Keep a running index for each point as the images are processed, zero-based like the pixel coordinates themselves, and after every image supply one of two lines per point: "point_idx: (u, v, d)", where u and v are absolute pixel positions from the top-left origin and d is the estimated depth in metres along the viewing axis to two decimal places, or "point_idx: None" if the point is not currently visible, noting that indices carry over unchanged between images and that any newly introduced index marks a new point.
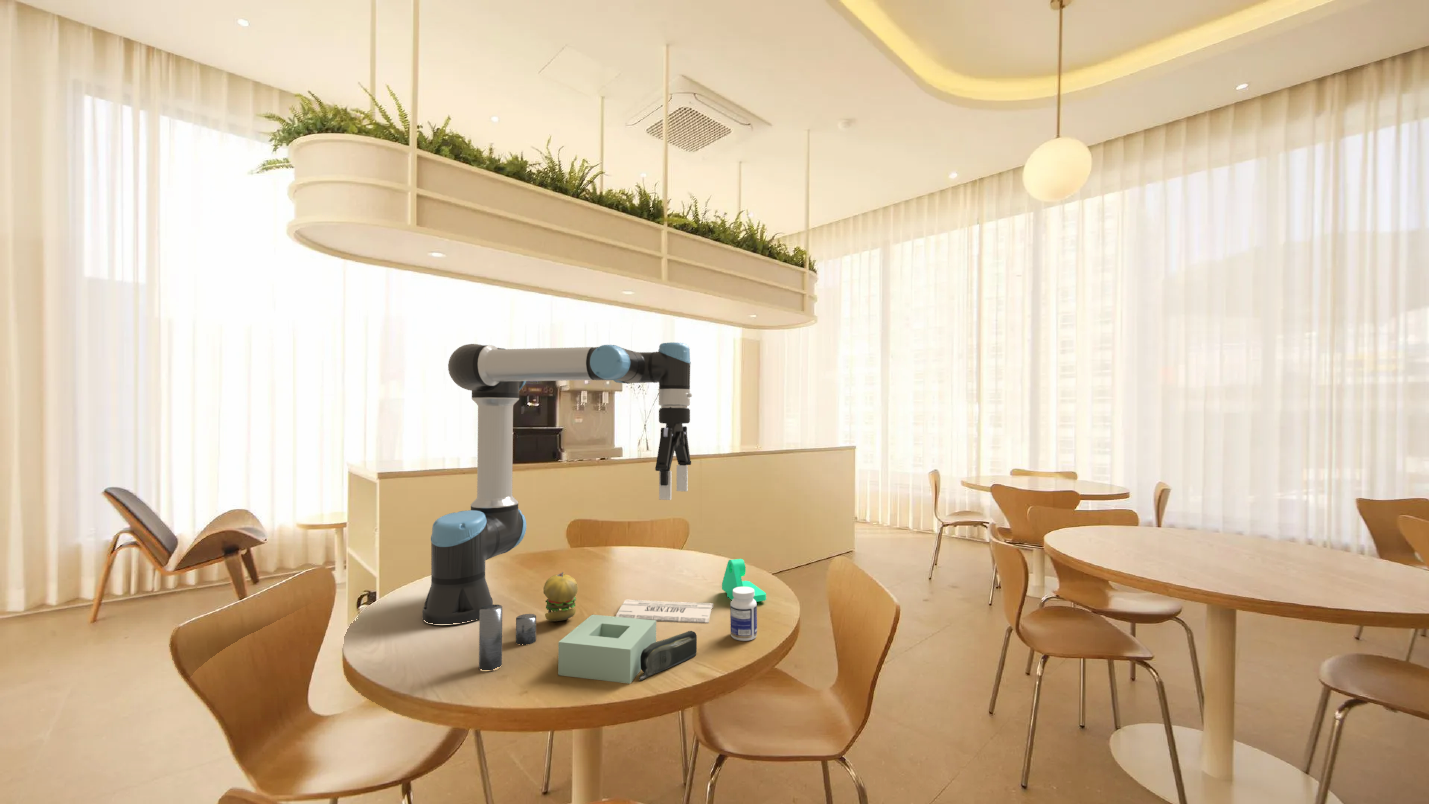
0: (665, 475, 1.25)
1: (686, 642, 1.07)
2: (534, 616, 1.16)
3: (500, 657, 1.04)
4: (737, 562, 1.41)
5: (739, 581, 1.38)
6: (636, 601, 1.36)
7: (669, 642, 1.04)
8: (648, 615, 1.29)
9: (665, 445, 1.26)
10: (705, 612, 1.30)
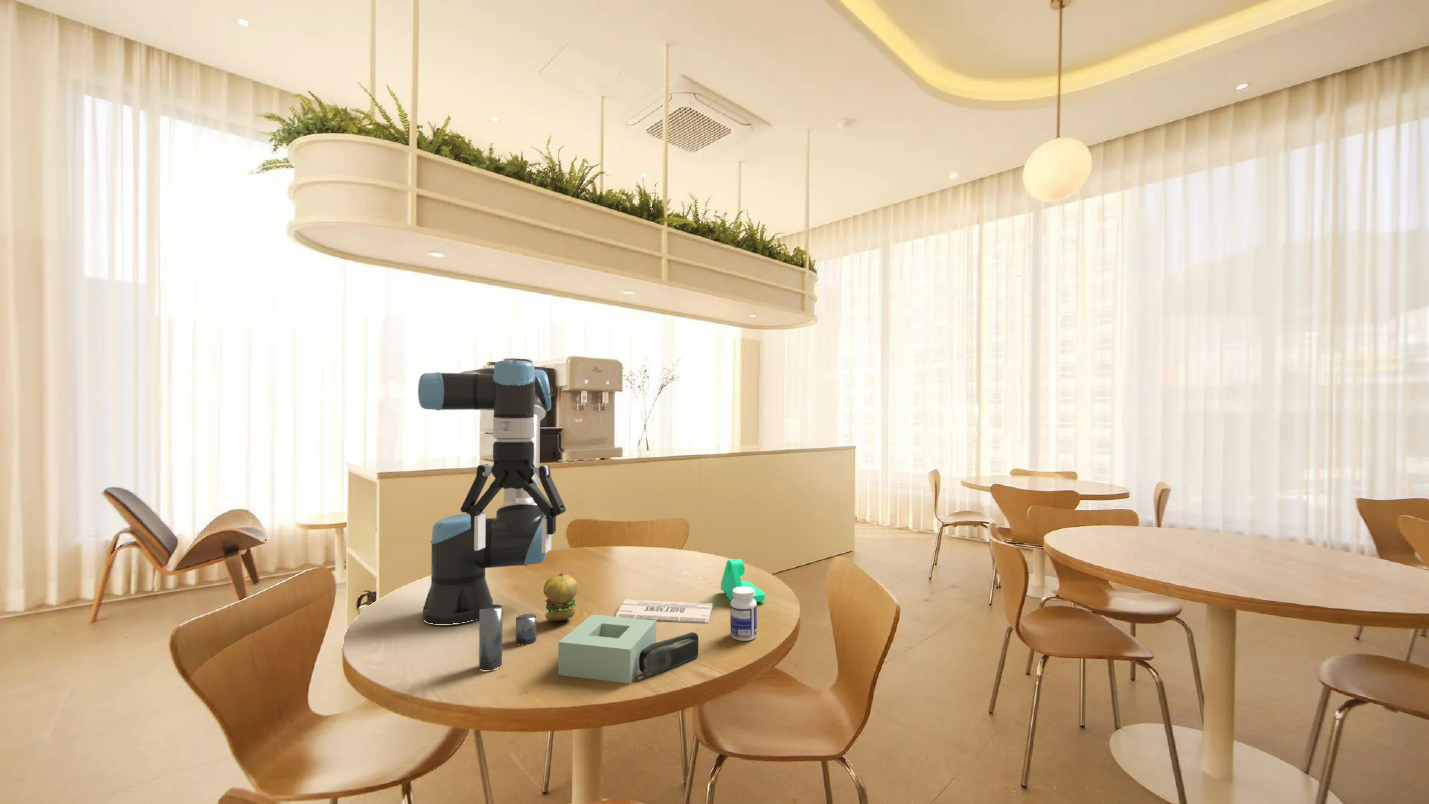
0: None
1: (687, 644, 1.06)
2: (534, 616, 1.16)
3: (500, 657, 1.04)
4: (736, 562, 1.41)
5: (738, 581, 1.38)
6: (636, 601, 1.36)
7: (668, 643, 1.04)
8: (648, 614, 1.29)
9: None
10: (705, 612, 1.30)
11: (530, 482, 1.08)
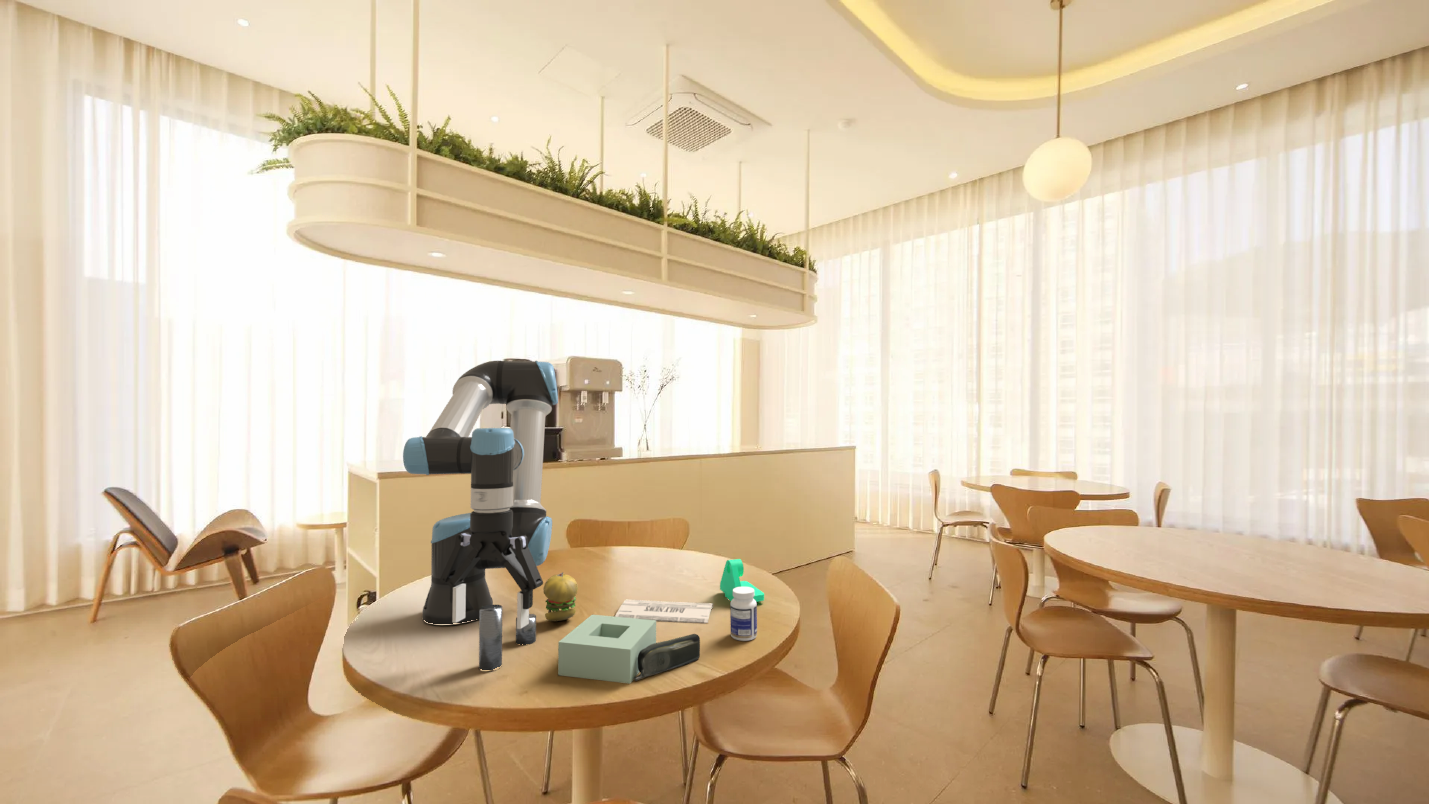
0: None
1: (688, 645, 1.05)
2: (534, 616, 1.16)
3: (500, 657, 1.04)
4: (735, 562, 1.41)
5: (737, 581, 1.38)
6: (636, 601, 1.36)
7: (668, 644, 1.03)
8: (647, 615, 1.29)
9: None
10: (704, 612, 1.30)
11: (508, 552, 1.05)
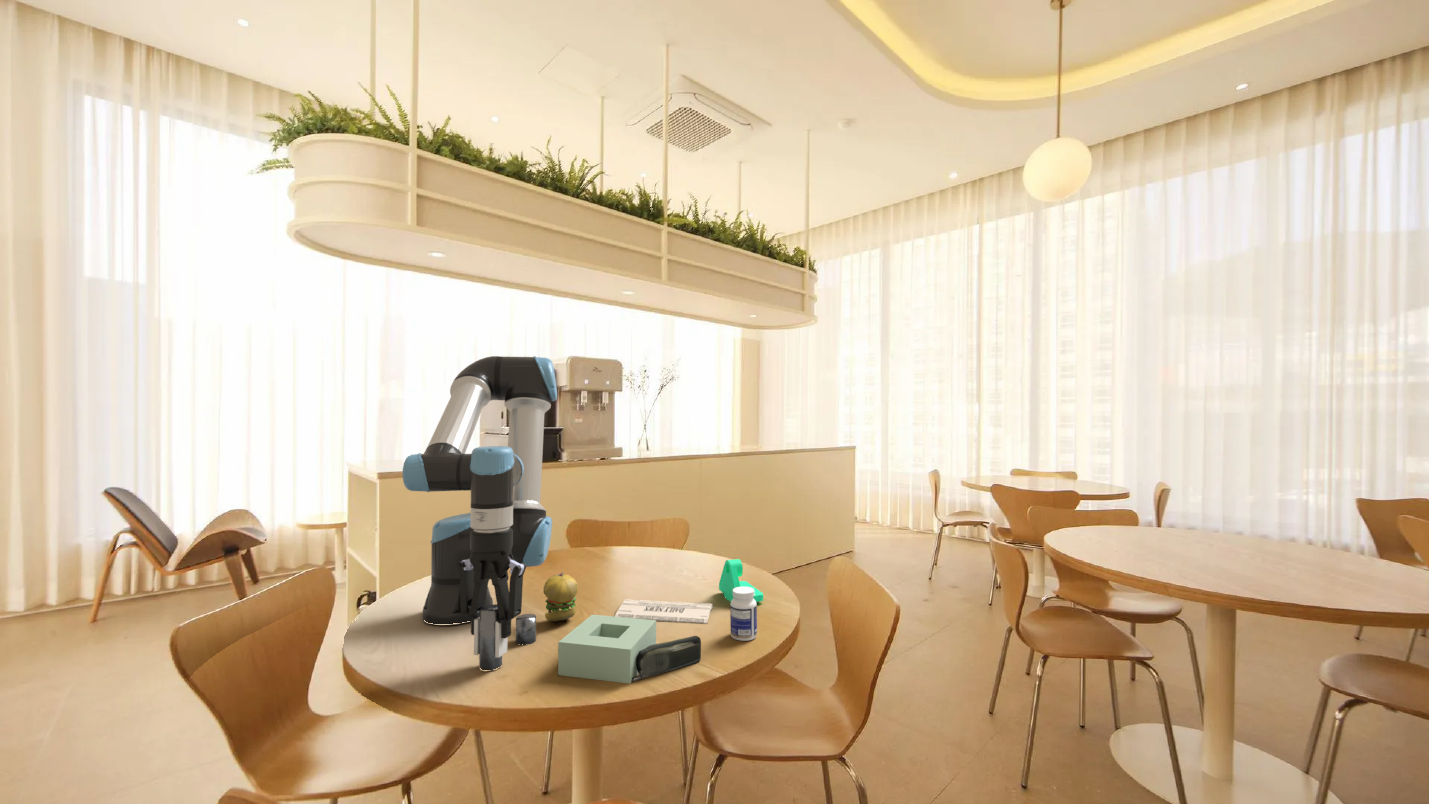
0: None
1: (688, 647, 1.05)
2: (534, 616, 1.16)
3: (500, 657, 1.04)
4: (734, 562, 1.41)
5: (736, 581, 1.38)
6: (636, 601, 1.36)
7: (667, 645, 1.03)
8: (647, 614, 1.29)
9: None
10: (704, 612, 1.30)
11: None
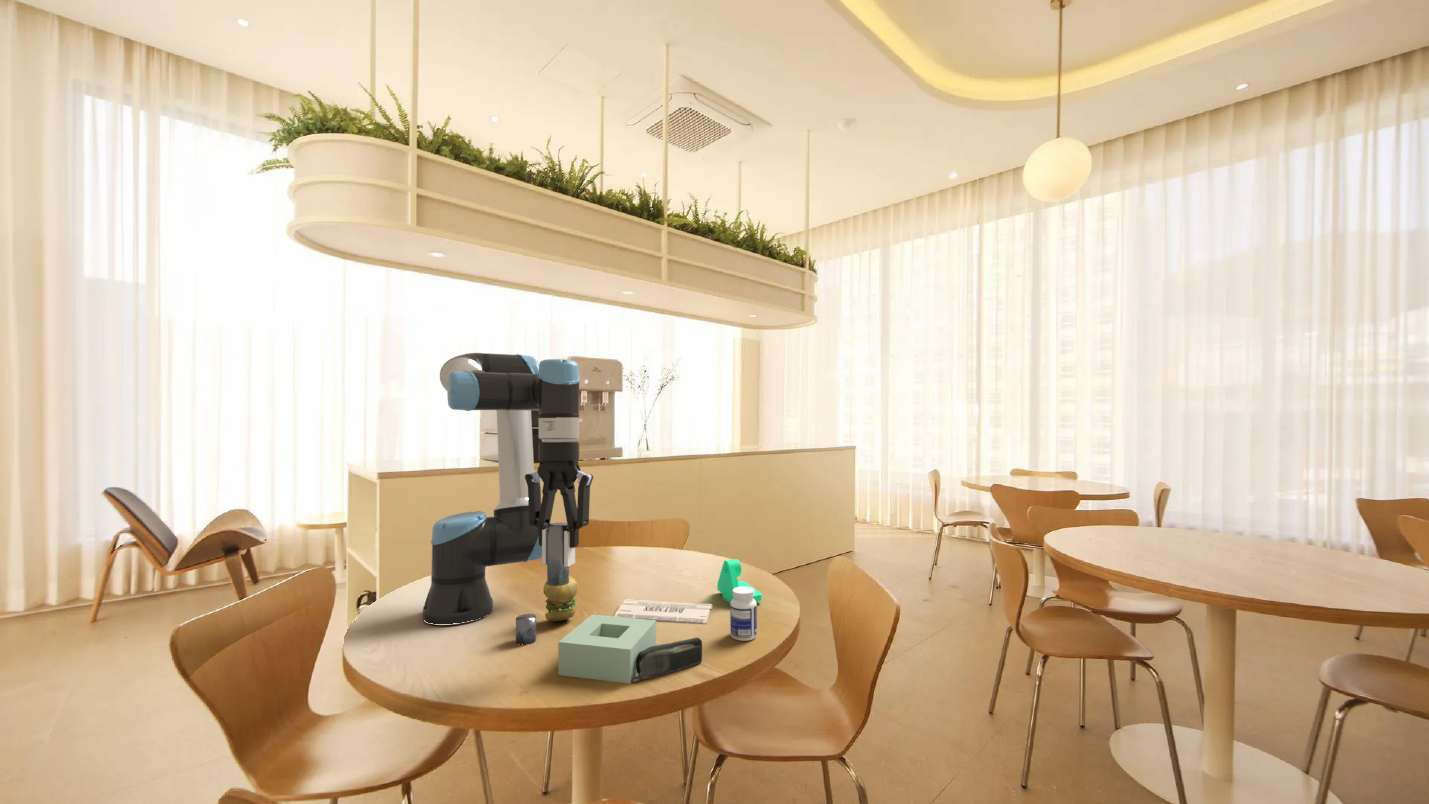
0: None
1: (688, 649, 1.04)
2: (534, 616, 1.16)
3: (568, 573, 1.04)
4: (733, 563, 1.41)
5: (735, 581, 1.38)
6: (636, 601, 1.36)
7: (668, 647, 1.02)
8: (646, 614, 1.29)
9: None
10: (703, 612, 1.30)
11: None
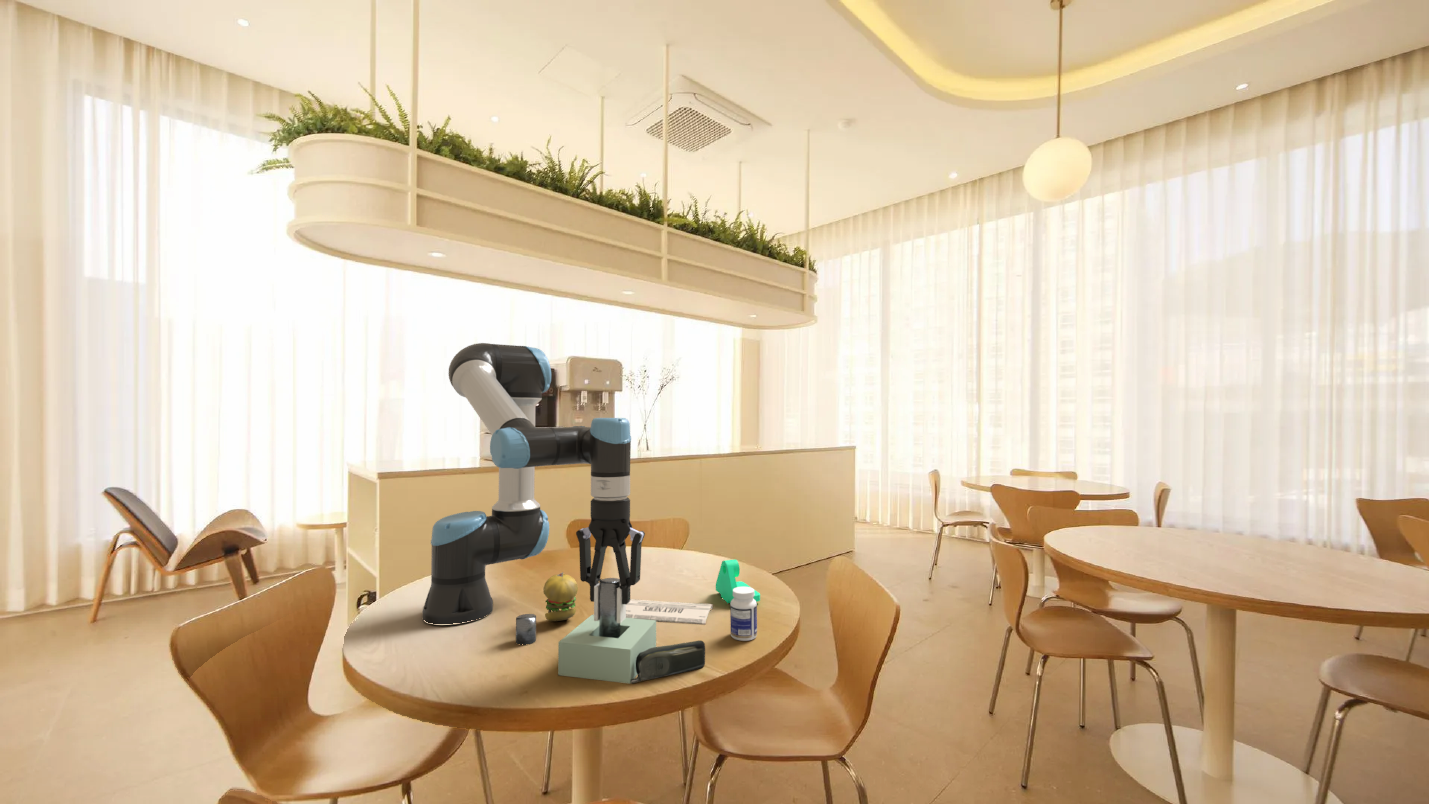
0: None
1: (690, 652, 1.03)
2: (534, 616, 1.16)
3: (619, 629, 1.06)
4: (731, 563, 1.40)
5: (733, 582, 1.38)
6: (636, 601, 1.36)
7: (668, 649, 1.01)
8: (646, 614, 1.29)
9: None
10: (703, 613, 1.29)
11: None
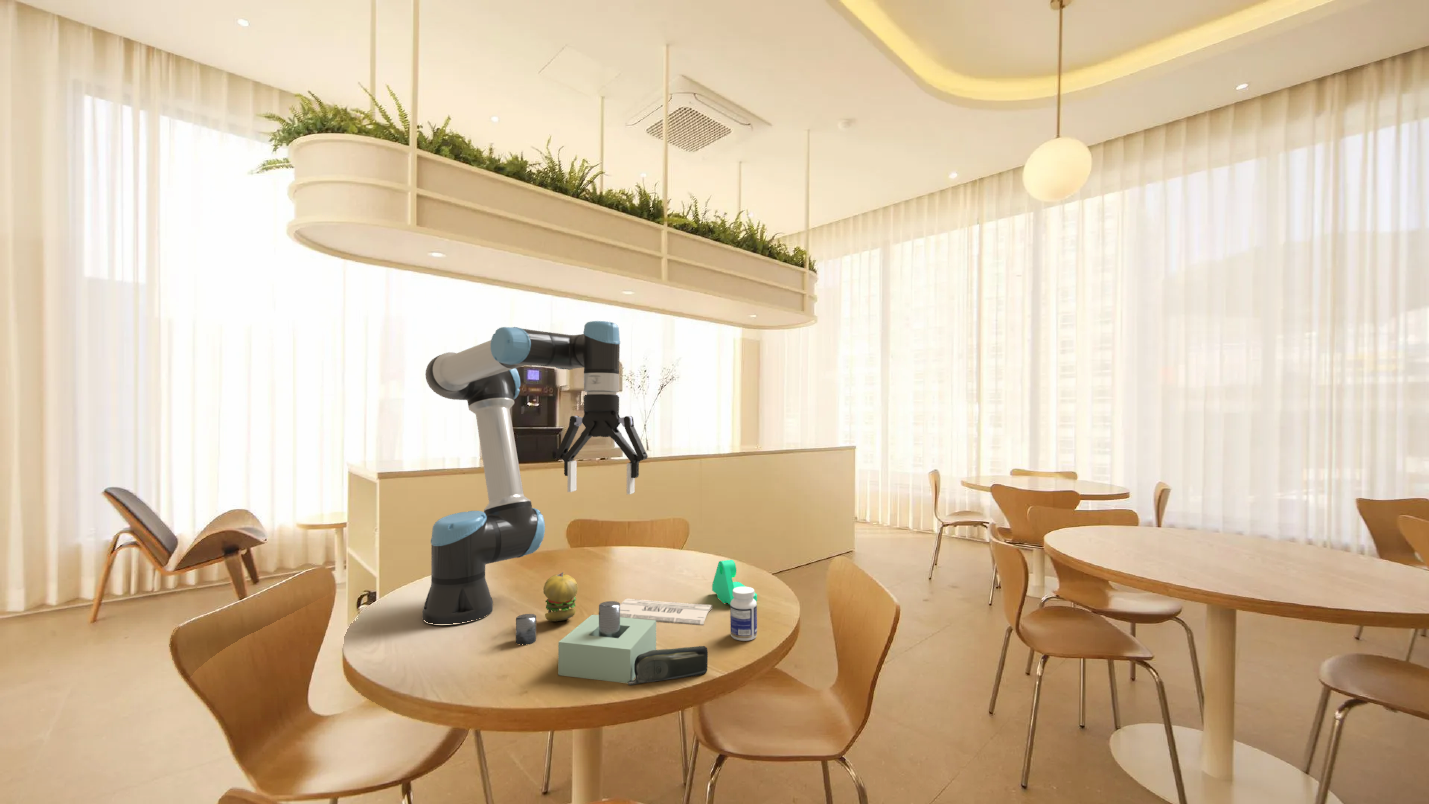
0: None
1: (690, 657, 1.00)
2: (534, 616, 1.16)
3: None
4: (728, 563, 1.40)
5: (730, 582, 1.37)
6: (635, 600, 1.36)
7: (668, 652, 1.00)
8: (644, 614, 1.29)
9: None
10: (701, 613, 1.29)
11: (616, 432, 1.20)
